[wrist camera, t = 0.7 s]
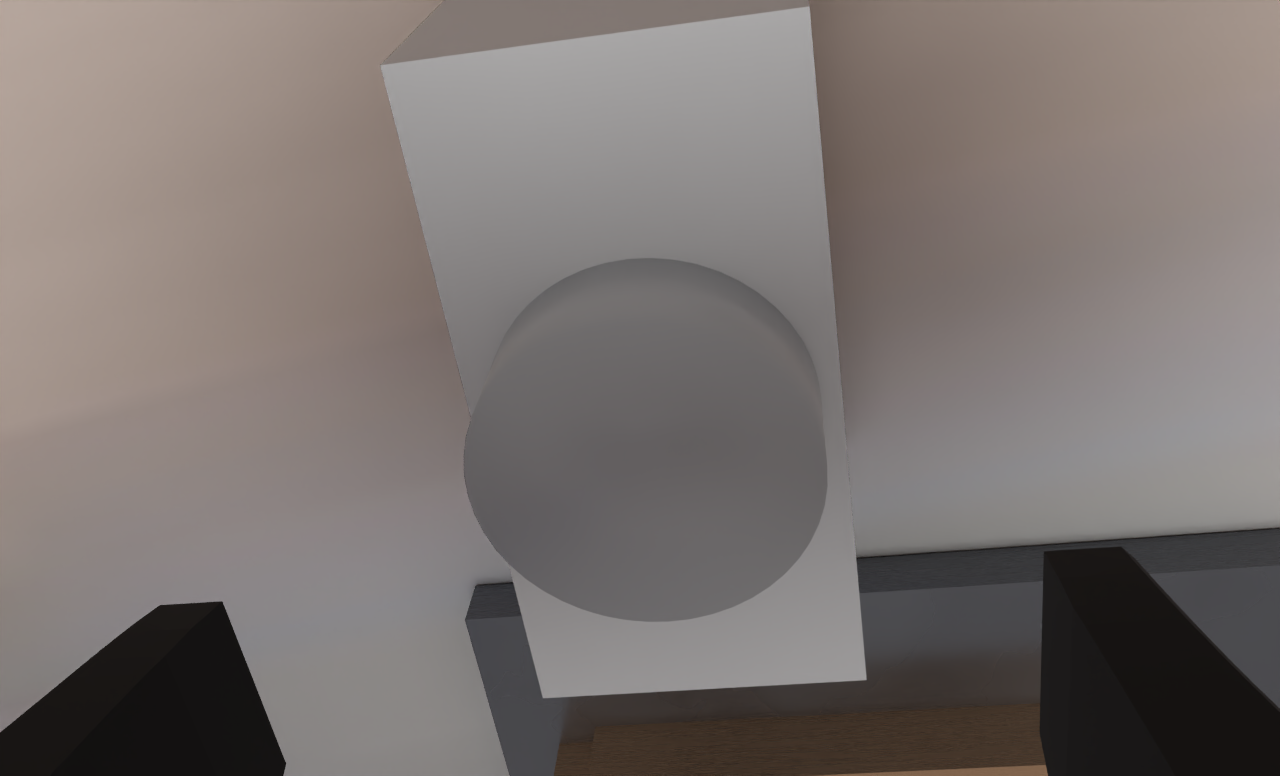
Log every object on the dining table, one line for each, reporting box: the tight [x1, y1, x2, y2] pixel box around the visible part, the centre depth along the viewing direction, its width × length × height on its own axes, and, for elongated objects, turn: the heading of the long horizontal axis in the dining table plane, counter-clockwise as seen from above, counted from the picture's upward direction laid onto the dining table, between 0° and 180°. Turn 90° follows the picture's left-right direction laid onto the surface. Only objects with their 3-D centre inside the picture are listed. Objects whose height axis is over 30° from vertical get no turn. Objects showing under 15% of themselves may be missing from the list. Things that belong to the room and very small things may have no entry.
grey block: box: [380, 0, 867, 698], centre depth 17 cm, size 4×9×8 cm, turn 9°
